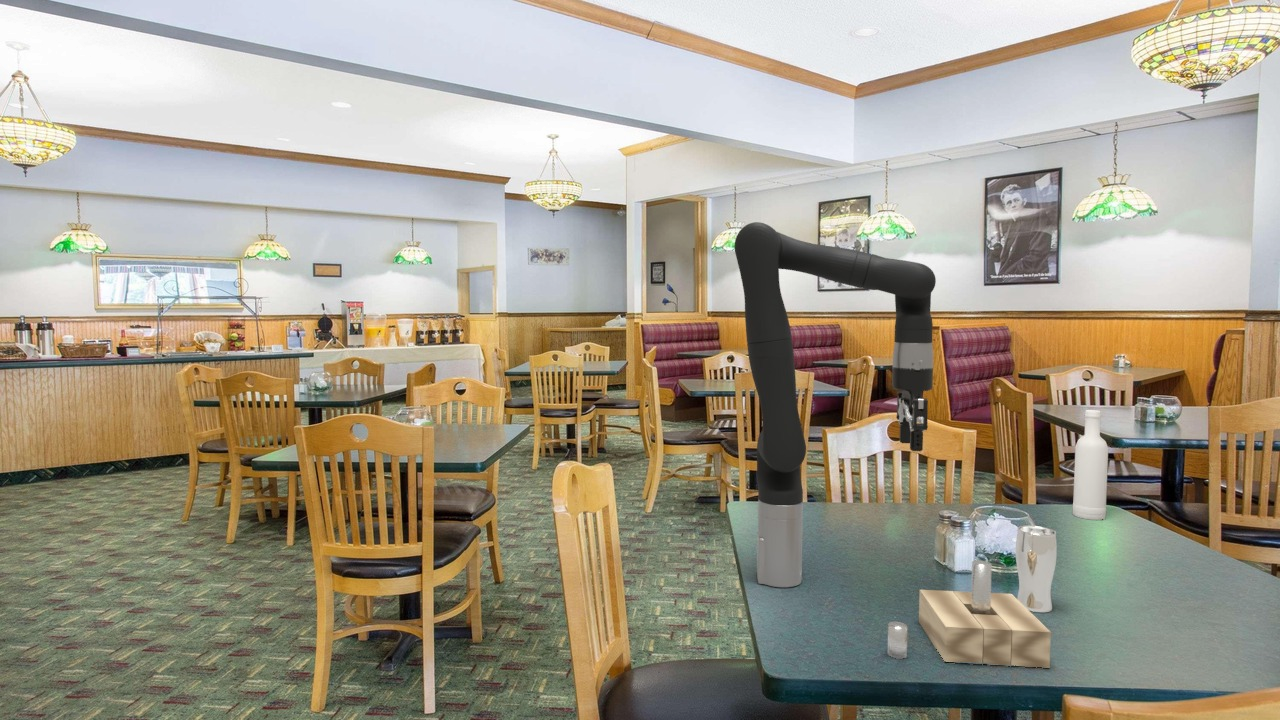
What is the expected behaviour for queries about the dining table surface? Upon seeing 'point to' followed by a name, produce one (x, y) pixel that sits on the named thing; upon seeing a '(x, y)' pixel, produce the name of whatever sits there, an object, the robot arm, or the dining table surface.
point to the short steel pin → (897, 640)
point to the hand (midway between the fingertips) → (910, 446)
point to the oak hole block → (984, 630)
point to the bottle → (1090, 471)
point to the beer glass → (1035, 566)
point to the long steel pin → (981, 587)
